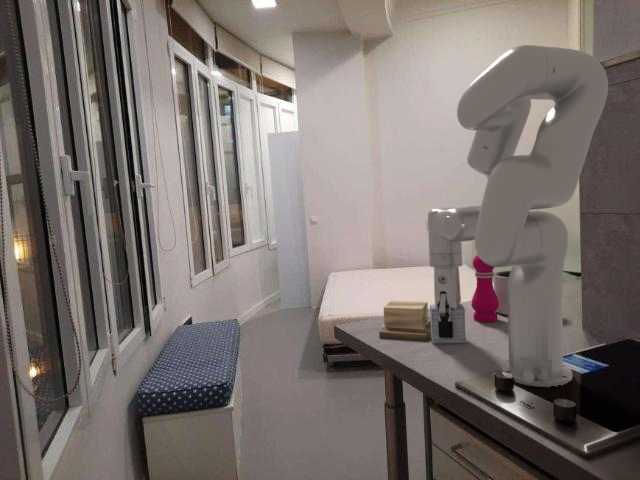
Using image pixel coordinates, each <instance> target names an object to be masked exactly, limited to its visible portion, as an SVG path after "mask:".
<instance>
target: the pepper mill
mask: <svg viewBox="0 0 640 480" xmlns="http://www.w3.org/2000/svg"><path fill="white" fill-rule="evenodd" d="M472 267H473V269H475V271H474V277H476V287H475V290H474V293H473V295H472V297H471V298H472V299H471V308H472V309H473V310H474V312H473V320H474V321H475V322H477V321H479V322H478V323H484V322H487V323H489V322H490V323H494V322H497V321H498V319H499V317H498V312H496V310H497V309H498V308H499V301H498V297H497V295H496V293H495V291H494V282H493V279H494V274H495V271H494V270H495V268H496V267H493V266H489V265H487V264H485V263H484V262H483V261H482V260H481V259H480V258H479V256H478V254H477V255H475V256H474V257H473V259H472Z"/></svg>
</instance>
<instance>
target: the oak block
mask: <svg viewBox="0 0 640 480" xmlns="http://www.w3.org/2000/svg"><path fill="white" fill-rule="evenodd" d="M428 303H429V302H428V301H415V300H413V301H412V300H390V301H389V302H388V303H387V304H385V306H383V322H384V323H383V325H384V326H393V327H410V328H423V327H424V325H425V324H426V322H427V321H428V317H429V310H428V309H429V308H428V306H429V305H428Z"/></svg>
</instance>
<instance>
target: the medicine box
mask: <svg viewBox="0 0 640 480" xmlns="http://www.w3.org/2000/svg"><path fill="white" fill-rule="evenodd" d="M446 308H449V306H446ZM446 312H447V313H448V311H446ZM429 314H430V315H429V317H431V335H430V337H431V344H466V343H467V340H466V339H467V337H466V336H467V335H466V308H465V307H464V304H461V303H460V304H459V306H458V308H457V309H455V310H454V309H453V308H451V321H453V338H440V337H439V324H438V321H439V309H437V308H436V307H435V304H429Z"/></svg>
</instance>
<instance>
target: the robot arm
mask: <svg viewBox="0 0 640 480" xmlns="http://www.w3.org/2000/svg"><path fill="white" fill-rule="evenodd" d="M608 79H609V78H608V76H607V72H606V70H605V68H604V67H603V65H602V64H601V62H599V60H598V59H596V57H594V56H593V55H590V54H589V53H586V52H584V51H581V50H577V49H574V48H573V49H572V48H566V47H565V48H564V47H558V46H557V47H556V46H555V47H554V46H553V47H552V46H542V45H533V44H532V45H531V44H525V45H519V46H516V47H514V48H513V47H512V49H510V50H508V51H506V52H505V53H503V55H501V56H500V57H498V59H496V60H495V61H494V62H493V63H492V64H491V65H489V66H488V68H486V69H485V70H484V71H483V72H482V73H481V74H480V75H479V76H478V77H477V78H475V80H473V81H472V82H471V83H470V85H468V87H467V88H466V89H465V91H464V92H463V93H462V95H461V97H460V99H459V101H458V103H457V104H458V105H457V107H456V113H457V114H456V115H457V116H456V117H457V119H458V120H457V121H458V122H459V124H460V125H461V127H463V128H464V129H465V130H469V131H475V133H474V137H473V140H472V142H471V146H470V149H469V152H468V155H467V157H466V158H467V159H466V160H467V164H468V166H470V167H471V169H473V170H474V171H476V172H477V173H480V174H482V175H484V176H486V178H487V181H486V186H485V190H484V194H483V197H482V202H481V205H475V206H474V205H473V206H464V207H463V206H462V207H437V208H432V209H430V210H429V212H428V214H427V229H428V233H427V235H428V257H429V259H428V260H429V261H428V262H429V267H430V268H433V271H434V272H433V284H434V285H433V288H434V291H433V292H434V305H435V307H436V308H437V309H439V321H438V324H439V337H440V338H453V321H451V308H453V309H454V310H455V309H457V308H458V306H459V304H461V302H462V301H461V300H462V296H461V295H462V294H461V283H460V282H461V281H460V270H459V268H460V267H463V253H462V245H463V244H462V242H463V243H464V242H469V241H470V242H471V241H474V248H475V251H476V254H477V255H478V256H479V258H480V259H481V260H482V261H483V262H484V263H485V264H487V265H489V266H493V267H495V268H507V267H511V269H510V271H511V272H510V275H509V280H508V316H507V324H508V325H507V330H508V331H507V332H508V360H506V361H504V362H503V363H502V364H501V365H500V373H501V372H509V373H511V374H513V375H514V379H515V382H514V383H517V384H521V385H524V386H531V387H536V388H537V387H538V388H539V387H540V388H552V387H551V386H555V387H559V386H558V385H561V386H565V385H567V384H569V383H570V382H572V381H573V372H572V369H570V368H569V367H568V366H566V365H565V364H564V350H563V349H564V345H563V344H564V342H563V341H564V334H563V333H564V332H563V329H564V327H563V325H564V324H563V321H564V318H563V285H564V284H563V278H564V274H563V273H564V266H565V260H566V255H567V251H568V244H569V234H568V230H567V229H568V228H567V226H566V224H565V223H564V221H562V219H561V218H560V217H558V216H557V215H555V214H554V213H550V212H548V211H540V209H541V210H542V209H544V210H545V209H550V208H557V207H561V206H563V205H566V204H567V203H568V202H569V201H570V200H571V199H572V197H573V196H574V194H575V192H576V189H577V186H578V183H579V180H580V177H581V174H582V170H583V168H584V164H585V162H586V161H585V160H586V158H587V156H588V151H589V149H590V146H591V141H592V137H593V135H594V132H595V130H596V128H597V125H598V123H599V120H600V118H601V116H602V113H603V110H604V108H605V105H606V102H607V99H608V98H607V97H608V94H609V80H608ZM532 100H544V101H545V100H549V101H553V102H554V105H553V107H552V108H551V109H550V110H549V111H548V112H547V113H546V115H545V116H544V118H543V119H542V121H541V123H540V125H539V126H538V129H537V133H536V137H535V141H534V145H533V147H532V149H531V152H530V153H529V154H527V155H526V154H524V155H523V154H522V155H521V154H519V155H515V154H516V153H515V152H516V150H517V147H518V145H519V142H520V139H521V136H522V134H523V131H524V130H525V129H524V128H525V126H526V124H527V121H528V118H529V115H530V111H531V108H532ZM532 210H534V211H532ZM537 210H538V211H537ZM446 306H449V308H446ZM446 311H448V313H447V312H446ZM569 381H570V382H569ZM568 382H569V383H568ZM566 383H567V384H566ZM564 384H565V385H564Z"/></svg>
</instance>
